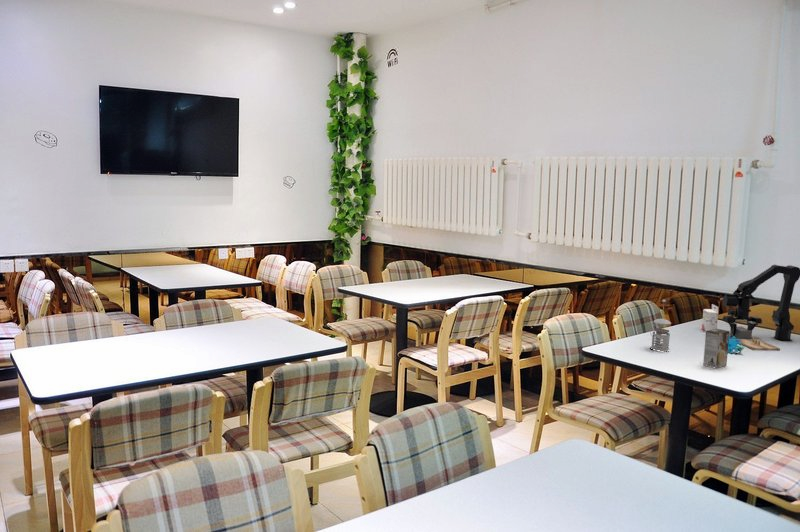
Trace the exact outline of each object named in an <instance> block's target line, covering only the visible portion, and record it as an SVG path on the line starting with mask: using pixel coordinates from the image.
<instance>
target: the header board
mask: <svg viewBox="0 0 800 532" xmlns="http://www.w3.org/2000/svg"><path fill="white" fill-rule="evenodd" d="M736 339H737V338H736ZM736 339H733V340H736ZM739 340H740V341H739V342H741V343H742V344H741V345H740V346H743V347H745V348H747V349H748V350H751V351H778V352H779V351H781V348H779V347H777V346H774V345H773V344H770V343H768V342H765V341H764V340H761V339H759V338H755V337H752V338H751V339H739ZM736 342H738V341H736Z"/></svg>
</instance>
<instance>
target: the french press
mask: <svg viewBox="0 0 800 532" xmlns="http://www.w3.org/2000/svg"><path fill="white" fill-rule="evenodd" d="M661 302H662V303H667V300H666V299H662V300H661ZM664 310H665V305H663V308H662V312H664ZM671 324H672V322H671V321H670V320H667V319H664V316H662V317H661V318H657V319H655V320H653V323H652V324H651V325H650V327H649V334H650V336H651V338H652V339H651V346H650V347H649V348H652V349H655V350H660V351H668V350H670V351H671V349H670V348H669V347H670V335H671V333H670V330H669V329H665V328H663V327H661V328H654V327H655V326H658V325H661V326H670V325H671ZM652 328H653V331H652V333H651V329H652Z"/></svg>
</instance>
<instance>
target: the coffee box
mask: <svg viewBox="0 0 800 532" xmlns="http://www.w3.org/2000/svg"><path fill="white" fill-rule="evenodd" d="M729 336H730V331H729V330H725V329H720V328H717V329H712V330H708V331H705V340H704V350H703V351H704V352H703V360H702V361H703V363H702V365H703V366H705V365H707V366H706V367H708V366H711V367H710V368H712V367H715V368H714V369H719V368H723V367H725V366H727V364H728V352H729V351H728V343H729ZM718 367H719V368H718Z"/></svg>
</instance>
